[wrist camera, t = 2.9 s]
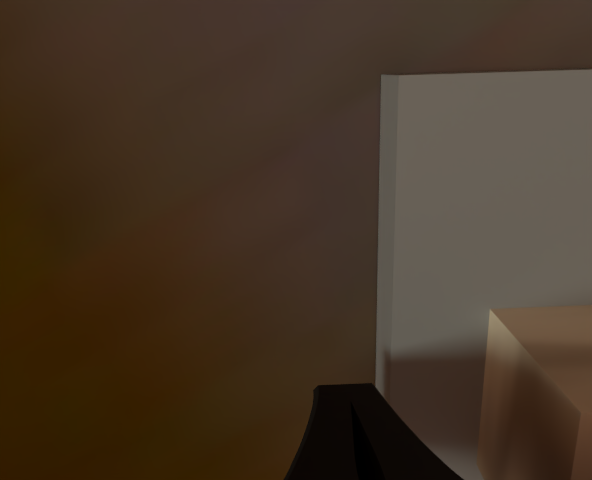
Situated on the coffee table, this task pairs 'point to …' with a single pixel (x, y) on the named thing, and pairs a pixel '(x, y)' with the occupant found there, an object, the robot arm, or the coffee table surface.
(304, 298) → the coffee table surface
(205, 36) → the coffee table surface
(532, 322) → the maple block
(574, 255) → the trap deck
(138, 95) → the coffee table surface
